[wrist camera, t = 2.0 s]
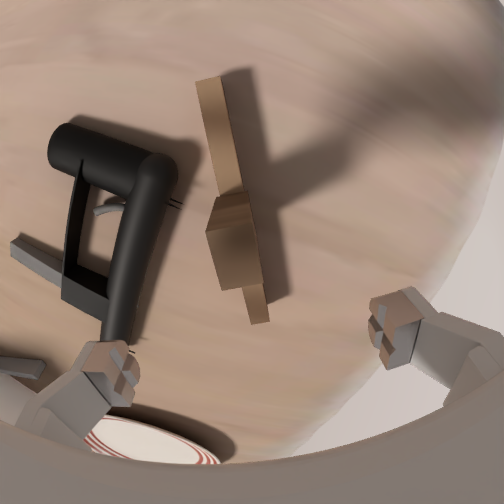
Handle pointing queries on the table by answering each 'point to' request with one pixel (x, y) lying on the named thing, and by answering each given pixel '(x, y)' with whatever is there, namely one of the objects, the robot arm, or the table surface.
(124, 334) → the black angular piece
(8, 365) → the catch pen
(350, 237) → the table surface
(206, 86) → the walnut scraper
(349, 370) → the table surface
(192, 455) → the dinner plate
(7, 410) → the white fork-shaped stand
